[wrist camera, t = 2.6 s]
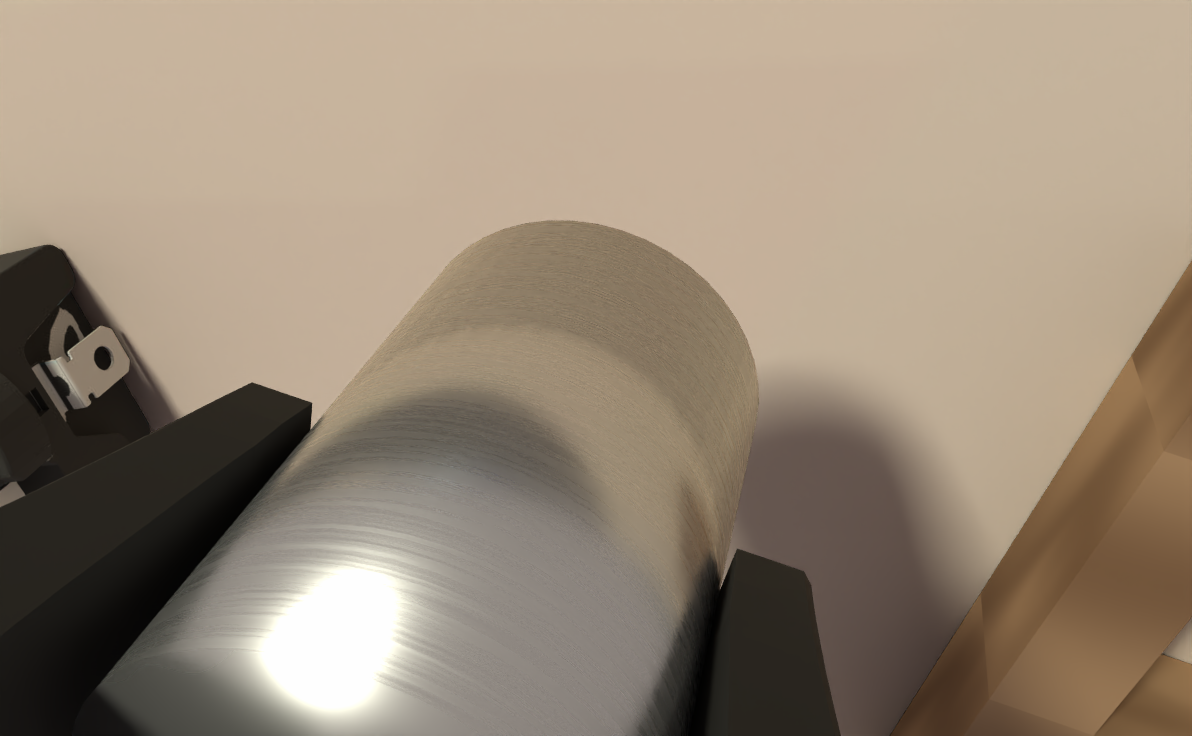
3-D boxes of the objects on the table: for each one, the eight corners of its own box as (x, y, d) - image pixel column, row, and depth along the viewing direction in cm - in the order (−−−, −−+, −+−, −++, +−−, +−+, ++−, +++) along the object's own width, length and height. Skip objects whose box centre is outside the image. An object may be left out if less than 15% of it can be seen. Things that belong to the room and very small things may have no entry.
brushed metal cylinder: (701, 562, 13) (570, 1101, 8) (400, 457, 13) (90, 909, 8) (809, 290, 10) (720, 810, 5) (439, 171, 11) (44, 560, 6)
